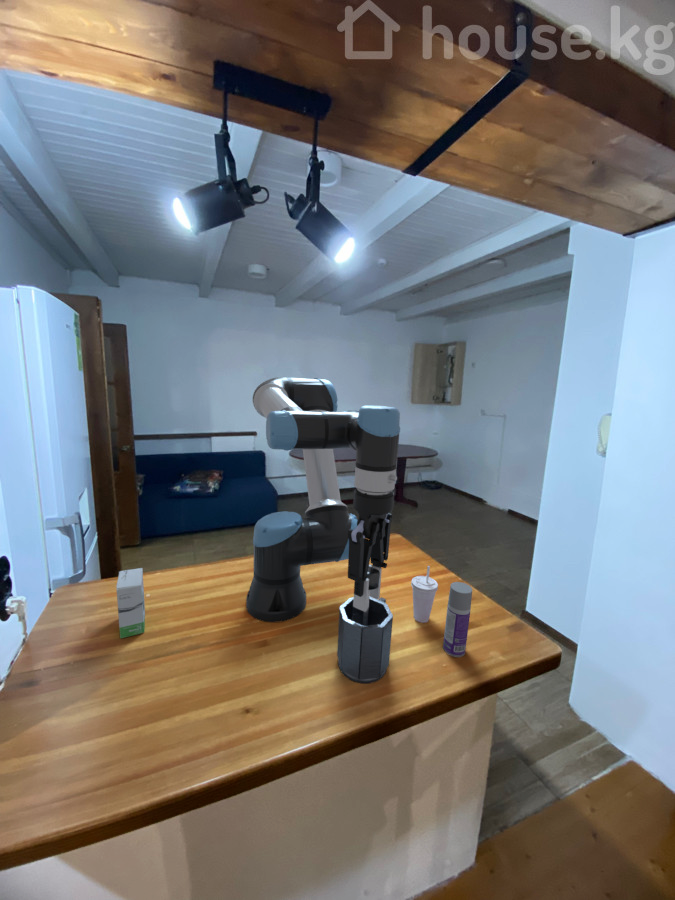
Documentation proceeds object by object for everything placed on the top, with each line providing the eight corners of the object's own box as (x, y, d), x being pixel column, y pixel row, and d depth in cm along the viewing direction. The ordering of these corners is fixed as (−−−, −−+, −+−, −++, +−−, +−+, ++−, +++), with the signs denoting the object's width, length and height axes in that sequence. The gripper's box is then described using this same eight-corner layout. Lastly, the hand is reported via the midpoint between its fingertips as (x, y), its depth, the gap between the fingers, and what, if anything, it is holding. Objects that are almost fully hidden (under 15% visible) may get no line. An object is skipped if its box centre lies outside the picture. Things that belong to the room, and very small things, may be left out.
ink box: (144, 633, 81) (142, 584, 79) (119, 639, 79) (115, 589, 76) (145, 611, 88) (142, 566, 86) (121, 616, 86) (118, 570, 84)
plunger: (338, 652, 73) (343, 573, 70) (357, 632, 79) (362, 559, 76) (370, 668, 69) (376, 586, 66) (387, 647, 75) (393, 571, 72)
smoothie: (435, 628, 87) (441, 574, 84) (407, 623, 88) (412, 570, 86) (433, 612, 93) (439, 561, 91) (408, 608, 94) (412, 558, 92)
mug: (328, 667, 74) (331, 613, 71) (360, 633, 84) (363, 586, 82) (371, 692, 68) (376, 635, 66) (400, 652, 79) (405, 602, 76)
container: (466, 646, 82) (474, 585, 79) (463, 660, 77) (472, 596, 75) (444, 639, 83) (451, 579, 81) (441, 652, 79) (448, 589, 76)
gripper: (368, 505, 59) (360, 633, 63) (411, 483, 73) (402, 589, 77) (330, 495, 63) (325, 616, 67) (378, 476, 77) (371, 577, 82)
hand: (366, 602), depth 72 cm, fingers closed on plunger, 4 cm apart
